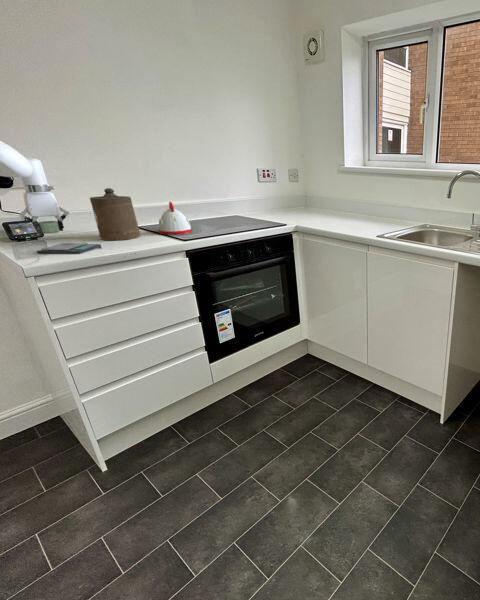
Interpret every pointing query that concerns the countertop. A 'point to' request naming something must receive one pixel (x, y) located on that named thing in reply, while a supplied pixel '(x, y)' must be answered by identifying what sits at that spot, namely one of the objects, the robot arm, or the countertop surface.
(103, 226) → the wooden container
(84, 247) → the scale
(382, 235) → the countertop surface
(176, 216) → the white dome
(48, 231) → the bowl
